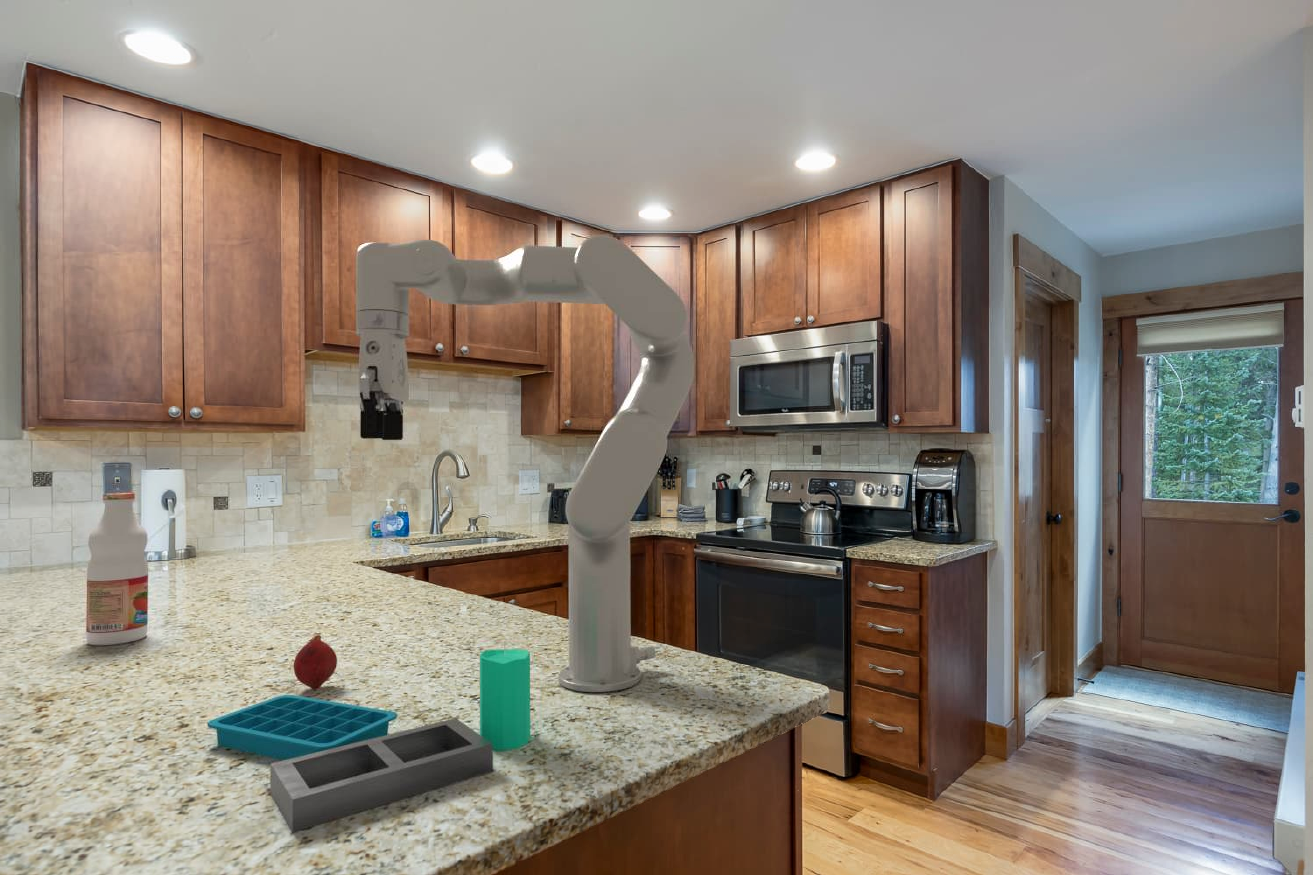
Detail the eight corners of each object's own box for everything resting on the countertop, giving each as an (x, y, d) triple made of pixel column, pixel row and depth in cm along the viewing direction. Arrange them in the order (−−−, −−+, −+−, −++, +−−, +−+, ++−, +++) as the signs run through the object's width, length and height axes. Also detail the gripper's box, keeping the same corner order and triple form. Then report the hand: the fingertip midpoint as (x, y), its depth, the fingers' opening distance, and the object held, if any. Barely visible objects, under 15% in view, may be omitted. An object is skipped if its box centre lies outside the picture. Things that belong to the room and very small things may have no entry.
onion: (319, 696, 104) (319, 640, 104) (284, 694, 105) (284, 639, 105) (344, 683, 109) (344, 631, 110) (311, 681, 111) (311, 629, 111)
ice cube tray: (326, 776, 79) (326, 748, 79) (201, 748, 86) (201, 723, 86) (402, 737, 89) (402, 713, 89) (285, 715, 97) (285, 693, 97)
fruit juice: (82, 640, 137) (84, 493, 138) (142, 631, 144) (144, 491, 145) (89, 649, 131) (91, 495, 131) (151, 639, 137) (153, 493, 138)
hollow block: (455, 743, 86) (455, 718, 86) (492, 771, 79) (492, 743, 79) (270, 792, 74) (270, 763, 74) (292, 832, 66) (292, 799, 66)
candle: (469, 746, 86) (469, 644, 86) (498, 728, 91) (498, 633, 91) (512, 753, 83) (511, 649, 84) (539, 734, 89) (539, 637, 89)
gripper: (391, 316, 101) (391, 437, 100) (422, 336, 118) (422, 440, 118) (336, 315, 100) (335, 437, 100) (375, 336, 118) (375, 440, 117)
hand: (382, 439), depth 109 cm, fingers open, 9 cm apart
